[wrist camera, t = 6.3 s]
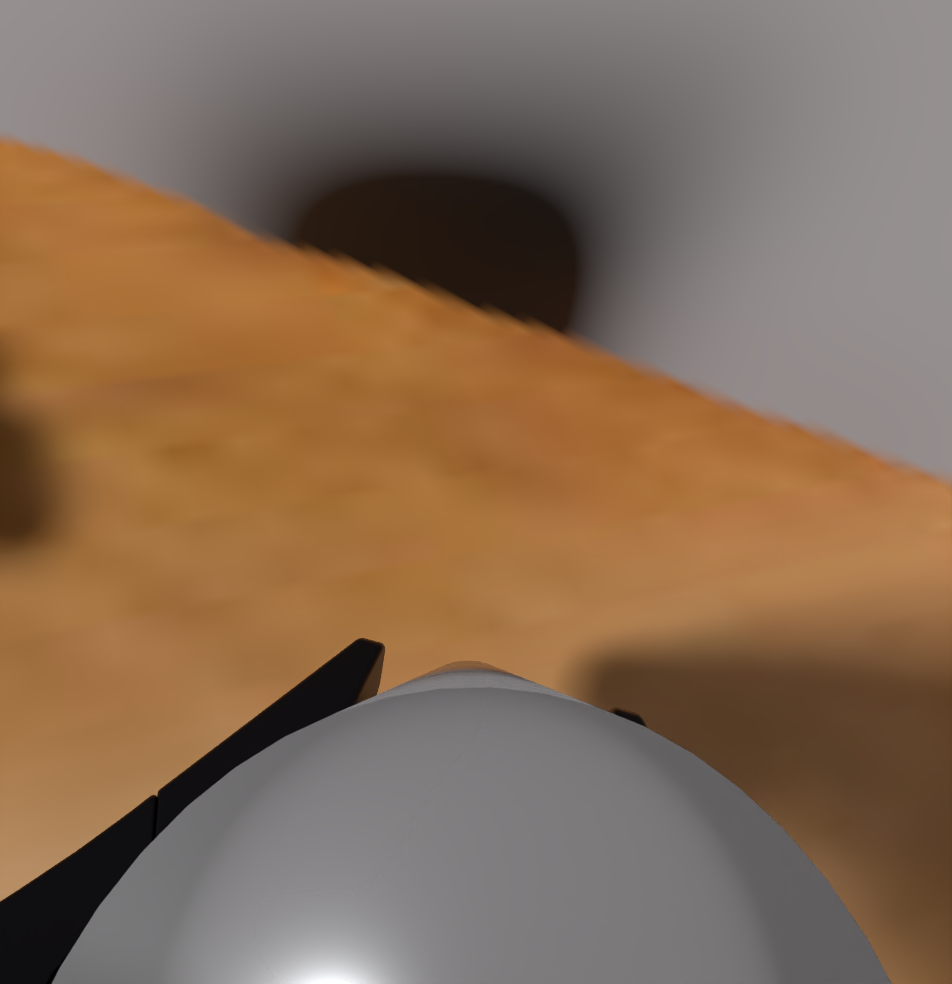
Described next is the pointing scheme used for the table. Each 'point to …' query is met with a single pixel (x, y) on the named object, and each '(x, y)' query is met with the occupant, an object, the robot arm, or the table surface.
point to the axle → (472, 859)
